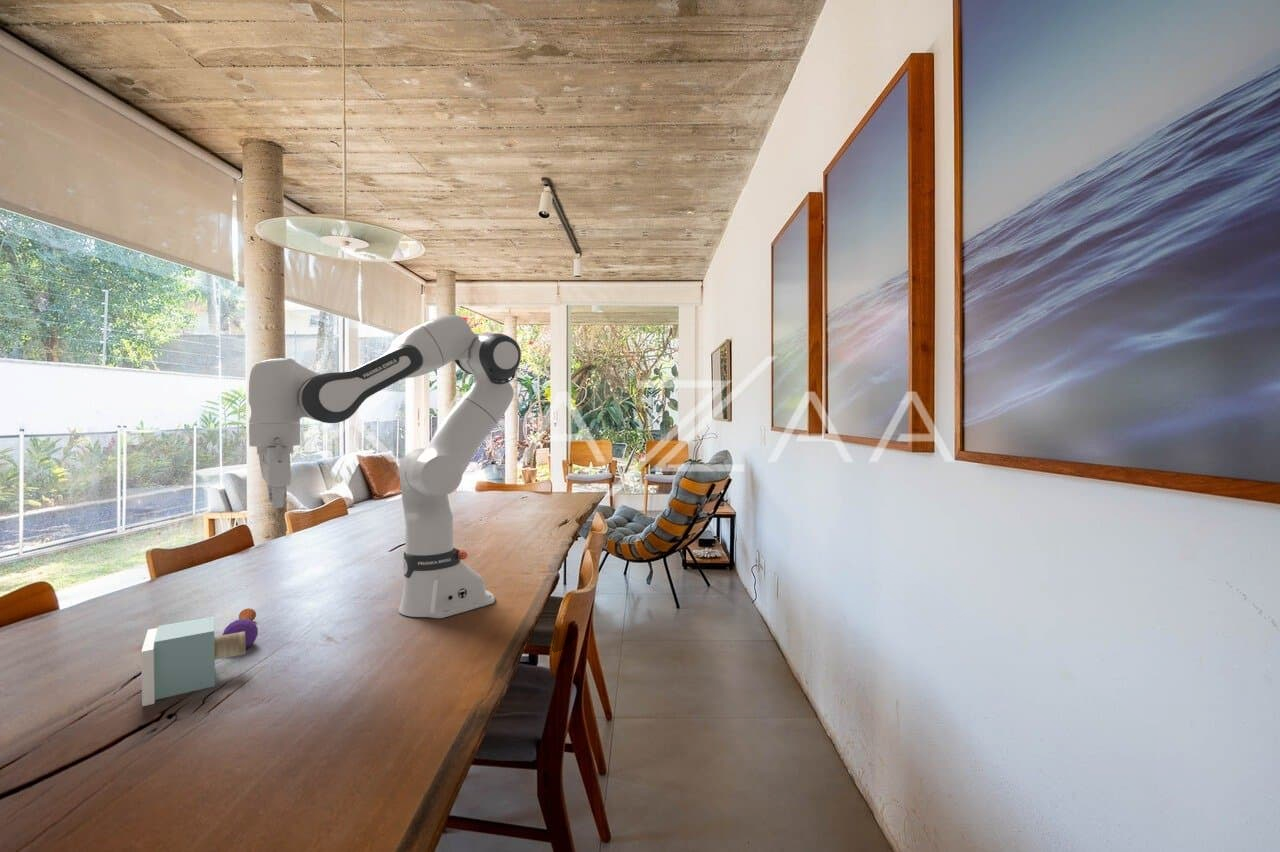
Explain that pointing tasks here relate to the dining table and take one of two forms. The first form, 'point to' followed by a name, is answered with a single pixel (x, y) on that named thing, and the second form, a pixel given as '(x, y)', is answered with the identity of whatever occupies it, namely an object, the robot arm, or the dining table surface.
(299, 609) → the dining table surface
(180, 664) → the block
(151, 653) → the slab
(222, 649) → the dowel
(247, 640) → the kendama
